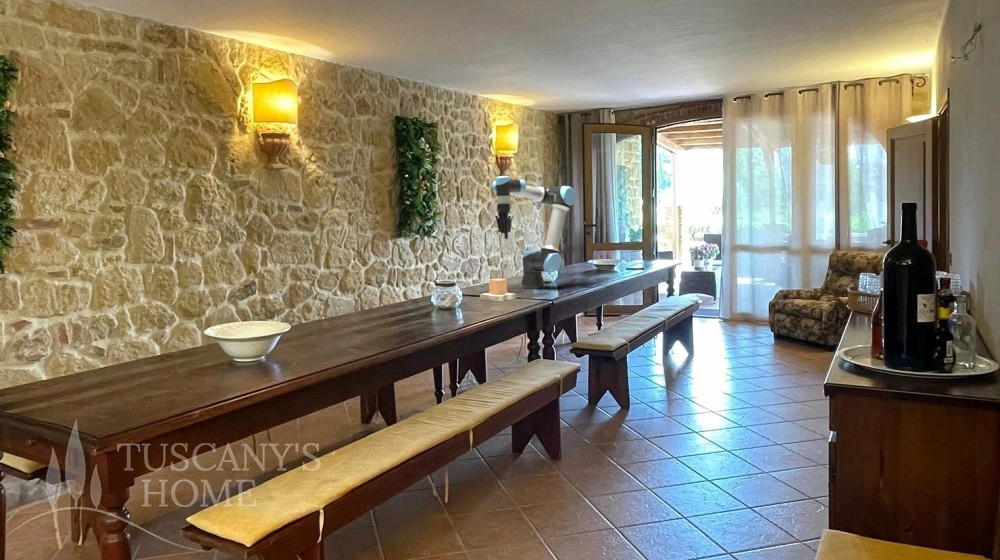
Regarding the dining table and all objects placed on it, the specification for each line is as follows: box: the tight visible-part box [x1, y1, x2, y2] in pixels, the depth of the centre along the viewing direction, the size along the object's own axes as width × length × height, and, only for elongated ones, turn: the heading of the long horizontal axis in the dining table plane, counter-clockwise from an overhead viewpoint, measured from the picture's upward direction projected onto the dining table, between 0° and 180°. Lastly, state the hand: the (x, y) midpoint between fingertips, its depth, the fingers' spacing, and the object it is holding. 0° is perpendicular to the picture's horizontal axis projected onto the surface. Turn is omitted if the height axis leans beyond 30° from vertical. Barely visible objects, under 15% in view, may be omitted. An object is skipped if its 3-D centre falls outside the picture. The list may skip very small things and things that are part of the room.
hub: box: [479, 292, 517, 303], centre depth 386 cm, size 14×14×7 cm
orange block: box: [488, 278, 508, 295], centre depth 385 cm, size 7×7×8 cm
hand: (505, 244), depth 403 cm, fingers closed
